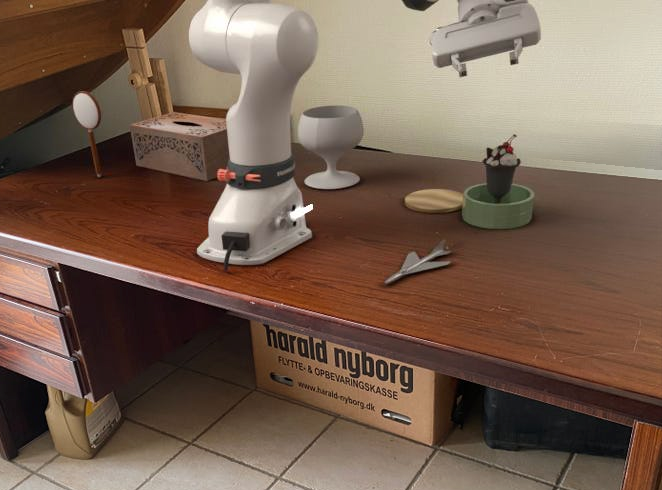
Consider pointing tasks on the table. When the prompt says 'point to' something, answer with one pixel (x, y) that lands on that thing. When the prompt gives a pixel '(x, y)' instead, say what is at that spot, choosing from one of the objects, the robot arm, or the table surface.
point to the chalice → (331, 141)
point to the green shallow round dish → (497, 207)
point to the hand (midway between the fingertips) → (488, 68)
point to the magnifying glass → (88, 119)
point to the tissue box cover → (182, 145)
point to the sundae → (500, 169)
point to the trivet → (434, 201)
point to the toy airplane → (420, 263)
